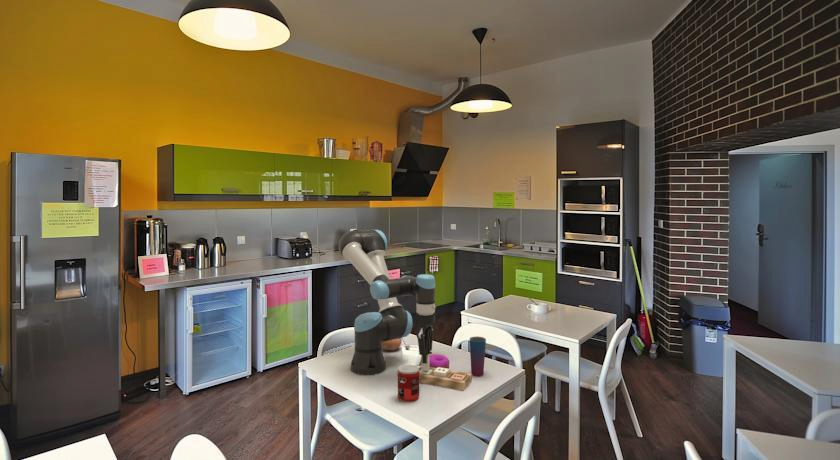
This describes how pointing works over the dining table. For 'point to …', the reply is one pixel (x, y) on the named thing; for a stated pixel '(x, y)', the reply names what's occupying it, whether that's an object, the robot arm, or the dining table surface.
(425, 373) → the button
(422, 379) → the panel
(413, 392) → the canned food
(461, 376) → the button
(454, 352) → the dining table surface
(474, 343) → the cup
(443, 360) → the donut
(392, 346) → the orange pumpkin
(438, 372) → the button
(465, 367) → the dining table surface
